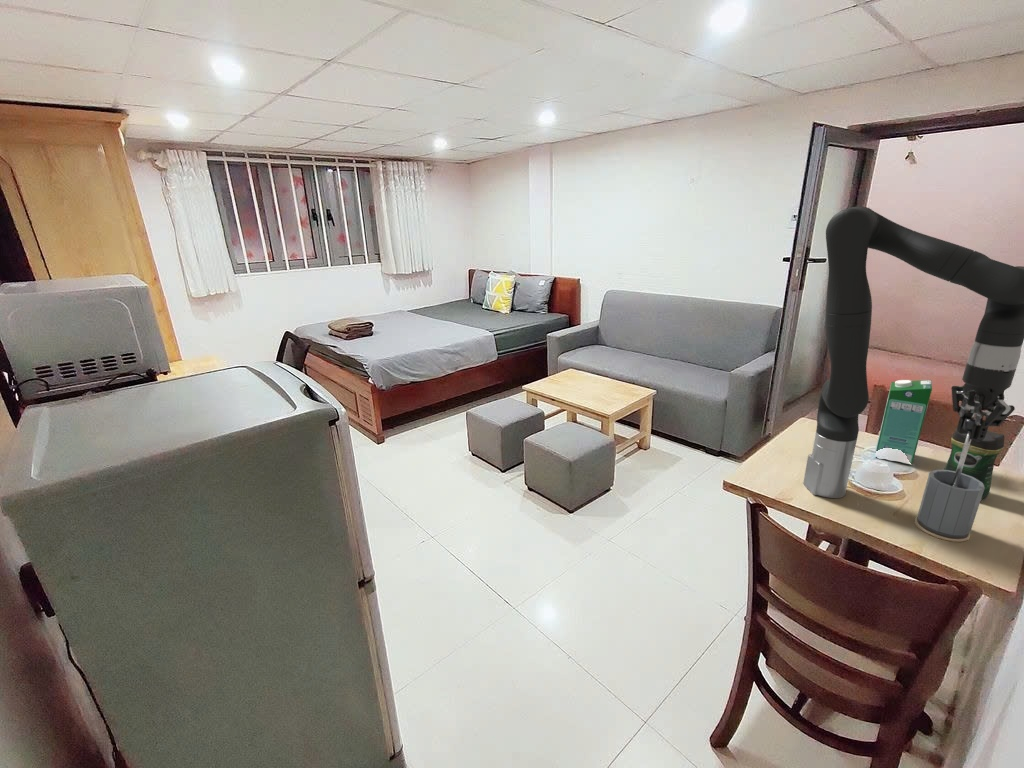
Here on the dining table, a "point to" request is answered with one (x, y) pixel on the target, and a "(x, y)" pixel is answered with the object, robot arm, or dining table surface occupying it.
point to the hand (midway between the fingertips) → (969, 436)
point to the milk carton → (904, 416)
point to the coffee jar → (977, 457)
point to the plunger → (968, 427)
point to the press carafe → (949, 506)
